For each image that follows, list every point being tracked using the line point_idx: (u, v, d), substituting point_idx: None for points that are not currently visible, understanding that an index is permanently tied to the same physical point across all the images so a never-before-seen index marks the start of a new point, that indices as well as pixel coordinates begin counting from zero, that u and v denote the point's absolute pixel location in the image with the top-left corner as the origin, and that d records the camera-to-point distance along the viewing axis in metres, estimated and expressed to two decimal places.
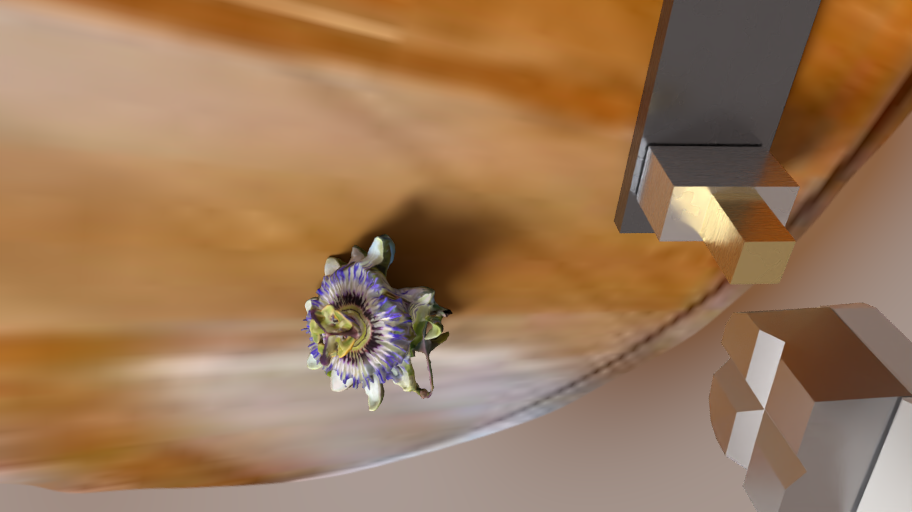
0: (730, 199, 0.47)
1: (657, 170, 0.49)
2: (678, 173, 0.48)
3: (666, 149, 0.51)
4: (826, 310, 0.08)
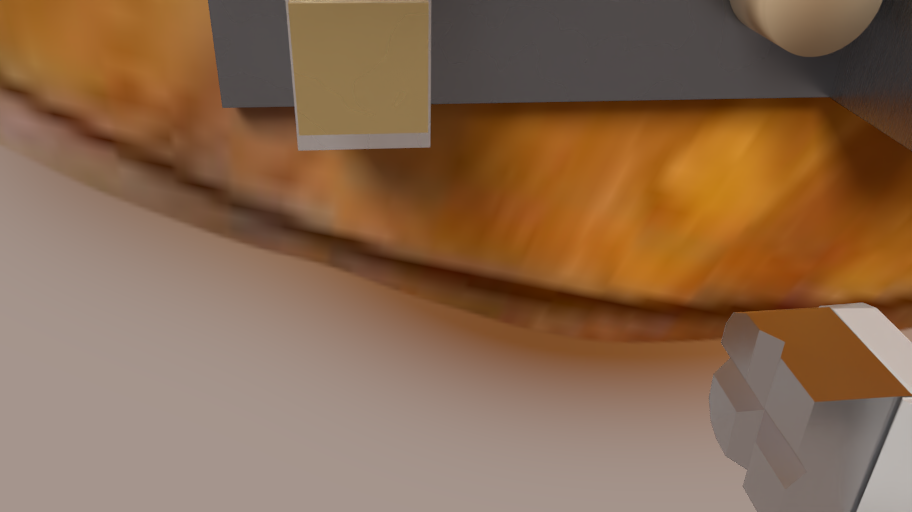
0: None
1: None
2: None
3: None
4: (826, 310, 0.08)
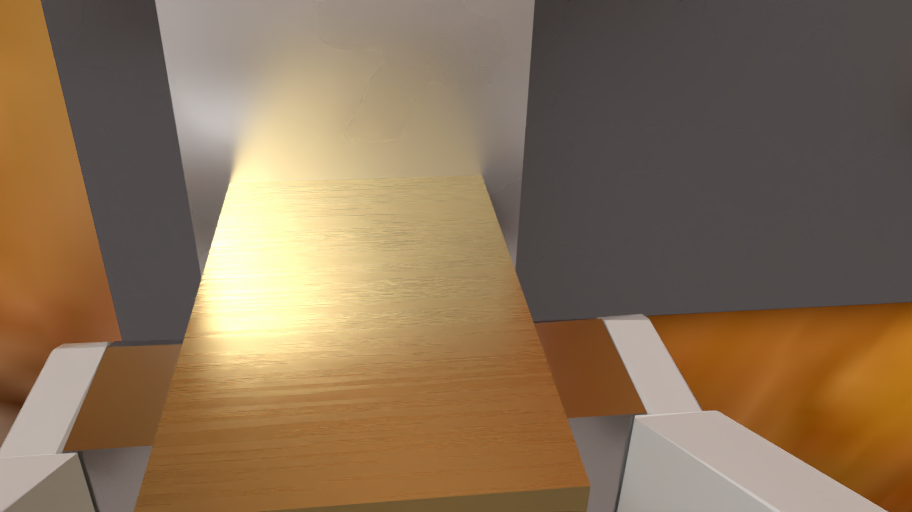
0: None
1: None
2: None
3: None
4: (596, 322, 0.08)
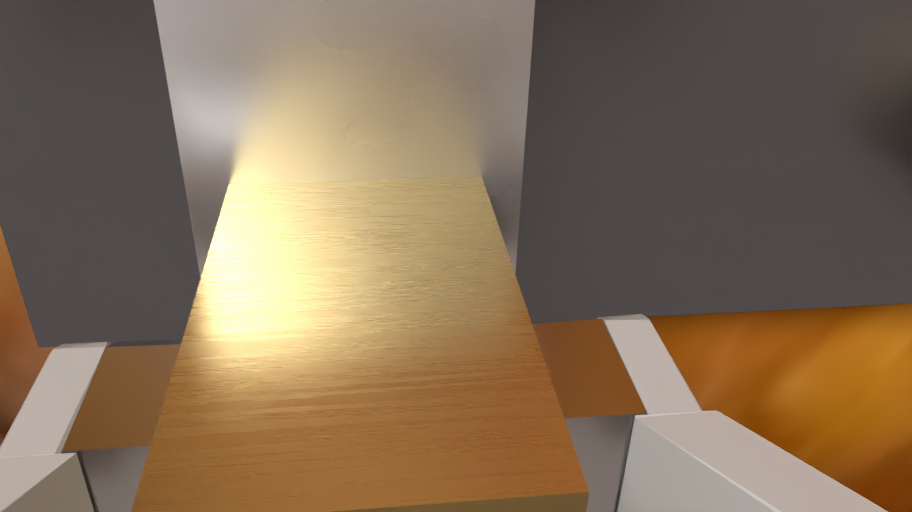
0: None
1: None
2: None
3: None
4: (596, 322, 0.08)
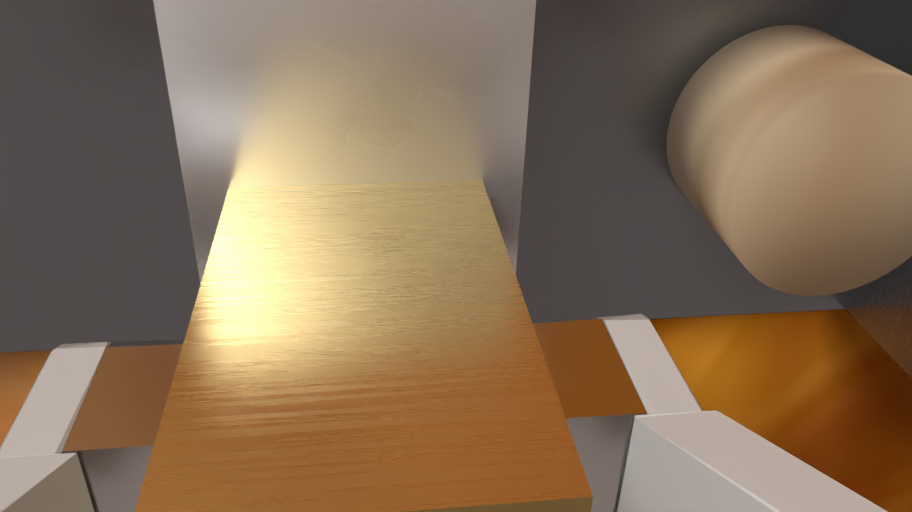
0: None
1: None
2: None
3: None
4: (596, 322, 0.08)
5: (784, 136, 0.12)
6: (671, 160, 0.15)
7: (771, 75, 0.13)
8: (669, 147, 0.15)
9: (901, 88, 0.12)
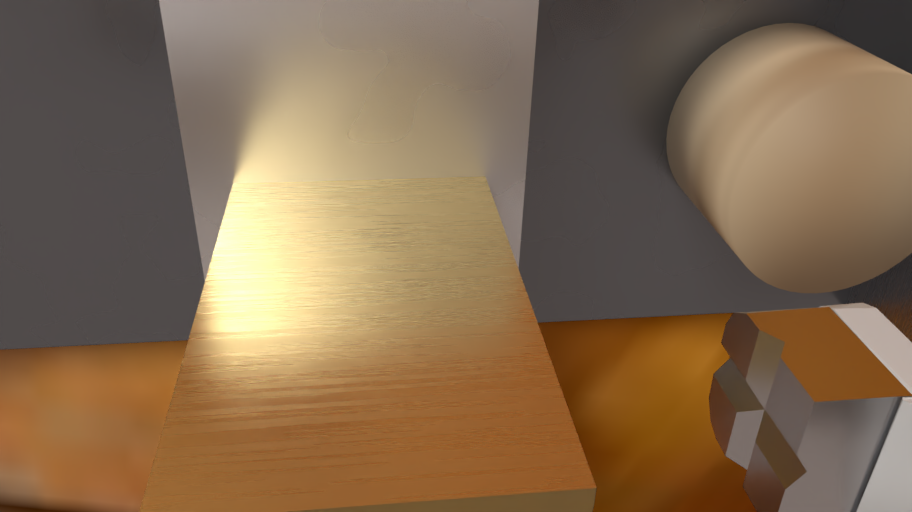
0: None
1: None
2: None
3: None
4: (826, 310, 0.08)
5: (784, 134, 0.12)
6: (671, 158, 0.15)
7: (771, 73, 0.13)
8: (669, 145, 0.15)
9: (900, 86, 0.12)
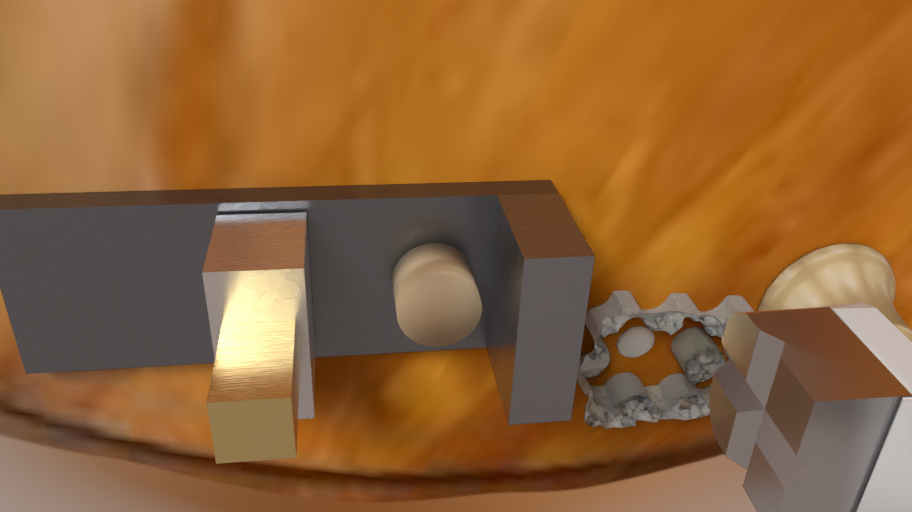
0: (296, 346, 0.33)
1: (293, 235, 0.34)
2: None
3: (307, 236, 0.36)
4: (826, 310, 0.08)
5: (410, 294, 0.36)
6: None
7: (413, 269, 0.37)
8: None
9: (448, 279, 0.36)
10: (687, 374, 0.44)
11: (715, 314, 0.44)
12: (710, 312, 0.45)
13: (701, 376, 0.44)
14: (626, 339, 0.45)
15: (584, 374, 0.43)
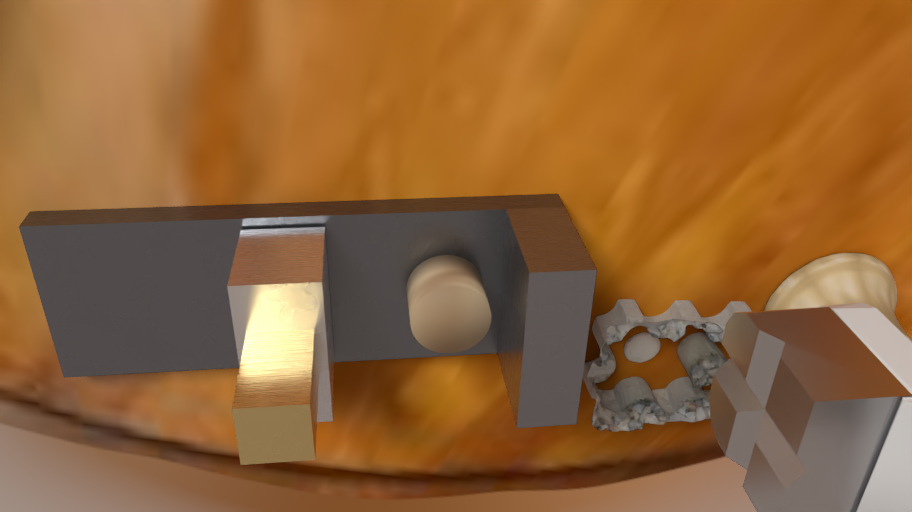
0: (315, 354, 0.35)
1: (312, 250, 0.36)
2: (324, 278, 0.36)
3: None
4: (826, 310, 0.08)
5: (423, 304, 0.38)
6: None
7: (425, 280, 0.39)
8: None
9: (458, 290, 0.38)
10: (691, 379, 0.45)
11: (719, 320, 0.46)
12: (714, 318, 0.46)
13: (705, 380, 0.45)
14: (633, 345, 0.47)
15: (591, 380, 0.45)
